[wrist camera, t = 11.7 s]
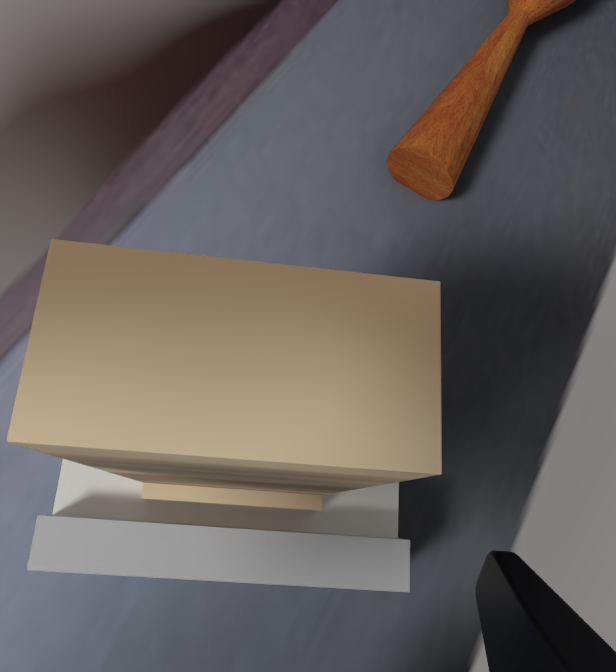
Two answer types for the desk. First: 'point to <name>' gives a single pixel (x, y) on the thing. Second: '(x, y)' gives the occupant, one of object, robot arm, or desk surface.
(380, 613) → the desk surface
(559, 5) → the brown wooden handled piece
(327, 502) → the ledge
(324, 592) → the desk surface
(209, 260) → the beige block with panel
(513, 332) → the desk surface
